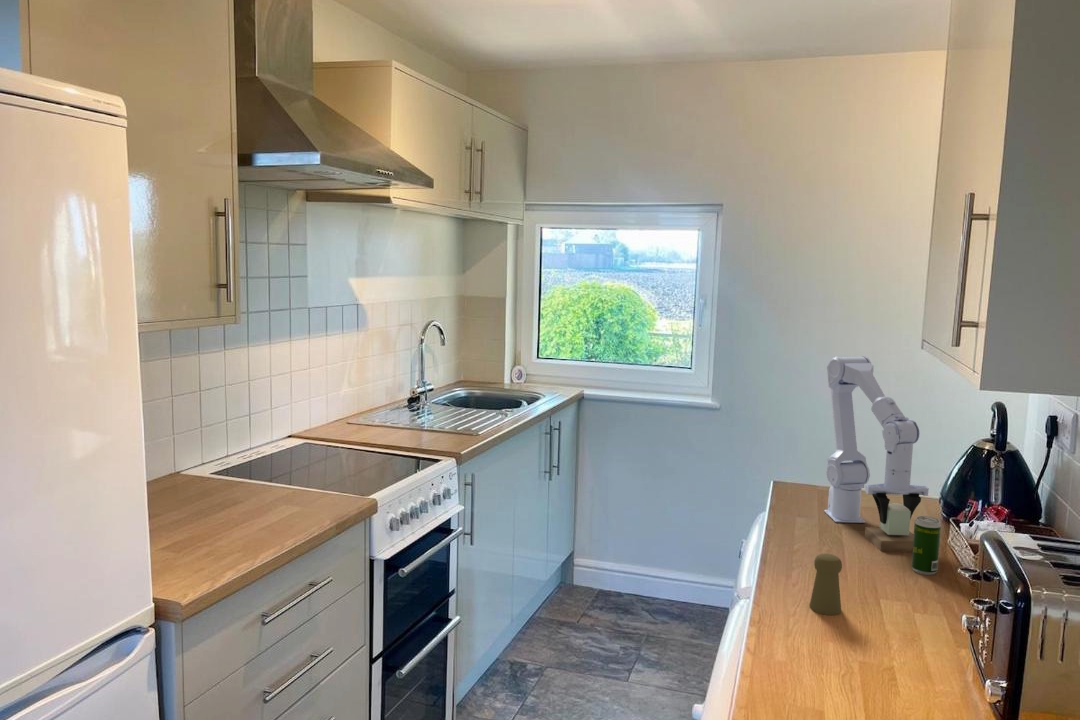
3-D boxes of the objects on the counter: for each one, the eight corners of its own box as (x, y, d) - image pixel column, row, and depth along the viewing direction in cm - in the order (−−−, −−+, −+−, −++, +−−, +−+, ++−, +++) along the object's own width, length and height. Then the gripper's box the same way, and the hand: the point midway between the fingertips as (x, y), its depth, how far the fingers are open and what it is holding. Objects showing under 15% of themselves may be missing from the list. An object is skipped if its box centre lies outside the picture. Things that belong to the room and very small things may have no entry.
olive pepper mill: (826, 617, 153) (829, 563, 152) (802, 605, 158) (805, 553, 157) (848, 611, 156) (851, 558, 154) (824, 599, 161) (827, 548, 160)
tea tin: (879, 527, 196) (881, 502, 195) (900, 527, 196) (902, 503, 195) (888, 534, 191) (890, 509, 190) (908, 535, 191) (910, 509, 190)
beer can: (941, 571, 177) (945, 520, 175) (930, 577, 173) (934, 525, 172) (917, 564, 181) (921, 514, 179) (906, 570, 177) (910, 518, 176)
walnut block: (864, 538, 199) (865, 526, 199) (904, 538, 199) (905, 527, 198) (880, 552, 189) (881, 540, 189) (922, 553, 189) (923, 541, 188)
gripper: (874, 472, 188) (870, 527, 189) (935, 474, 187) (931, 528, 189) (863, 465, 195) (860, 518, 196) (922, 466, 194) (918, 519, 196)
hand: (894, 522), depth 193 cm, fingers closed on tea tin, 5 cm apart
